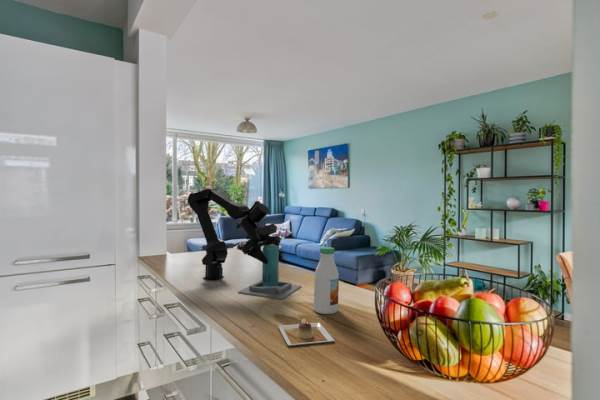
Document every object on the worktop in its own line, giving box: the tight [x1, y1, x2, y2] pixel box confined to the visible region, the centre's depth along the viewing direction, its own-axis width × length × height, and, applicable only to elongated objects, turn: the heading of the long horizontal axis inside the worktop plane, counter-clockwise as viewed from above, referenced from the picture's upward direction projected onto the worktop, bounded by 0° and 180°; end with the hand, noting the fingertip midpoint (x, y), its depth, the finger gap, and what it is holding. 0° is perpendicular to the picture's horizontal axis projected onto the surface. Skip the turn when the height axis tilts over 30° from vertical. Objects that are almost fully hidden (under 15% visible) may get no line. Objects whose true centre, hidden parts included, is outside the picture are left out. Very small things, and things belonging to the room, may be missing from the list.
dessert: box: [277, 318, 336, 347], centre depth 86 cm, size 12×12×5 cm
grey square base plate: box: [237, 279, 302, 301], centre depth 127 cm, size 18×18×2 cm
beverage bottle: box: [261, 235, 280, 287], centre depth 127 cm, size 6×7×20 cm
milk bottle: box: [313, 246, 340, 315], centre depth 105 cm, size 8×8×20 cm
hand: (274, 261), depth 126 cm, fingers open, 9 cm apart
